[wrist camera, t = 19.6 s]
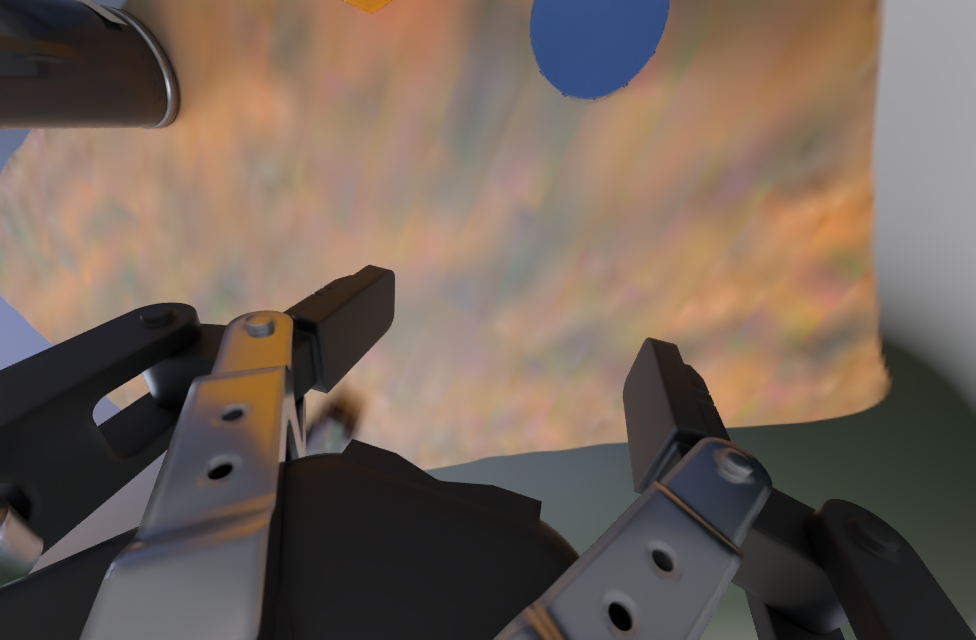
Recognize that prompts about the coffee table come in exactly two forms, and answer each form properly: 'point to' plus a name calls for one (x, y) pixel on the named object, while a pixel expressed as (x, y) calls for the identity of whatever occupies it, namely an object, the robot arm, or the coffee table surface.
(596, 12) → the lid
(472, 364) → the coffee table surface
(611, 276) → the coffee table surface
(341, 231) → the coffee table surface
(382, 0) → the orange juice
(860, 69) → the coffee table surface
